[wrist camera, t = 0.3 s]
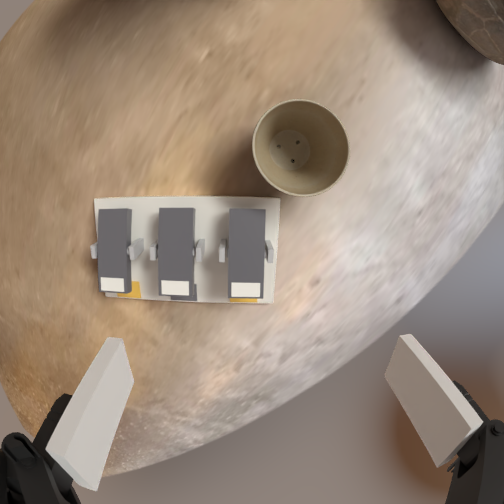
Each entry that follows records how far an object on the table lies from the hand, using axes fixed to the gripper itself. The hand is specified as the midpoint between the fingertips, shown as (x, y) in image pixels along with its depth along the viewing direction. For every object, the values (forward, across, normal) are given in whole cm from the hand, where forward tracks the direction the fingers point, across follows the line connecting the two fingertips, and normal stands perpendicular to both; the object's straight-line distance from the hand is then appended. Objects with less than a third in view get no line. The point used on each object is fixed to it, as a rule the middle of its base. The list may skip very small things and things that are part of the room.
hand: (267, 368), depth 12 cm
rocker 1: (+20, -16, -1) cm, 26 cm away
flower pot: (+25, +5, +11) cm, 27 cm away
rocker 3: (+20, 0, -1) cm, 20 cm away
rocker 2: (+20, -8, -1) cm, 22 cm away
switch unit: (+24, -8, -2) cm, 26 cm away
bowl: (+24, +39, +45) cm, 64 cm away
